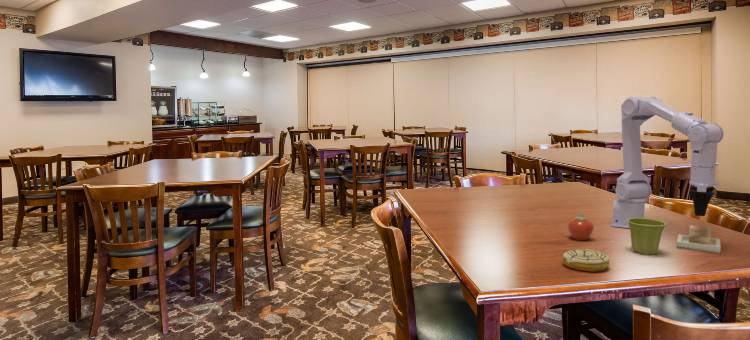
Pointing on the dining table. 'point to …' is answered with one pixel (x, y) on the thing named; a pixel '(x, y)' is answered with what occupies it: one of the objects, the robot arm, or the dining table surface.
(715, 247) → the tray
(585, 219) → the tomato
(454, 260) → the dining table surface
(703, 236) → the maple block
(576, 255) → the decorated donut
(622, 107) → the robot arm
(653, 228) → the plant pot
